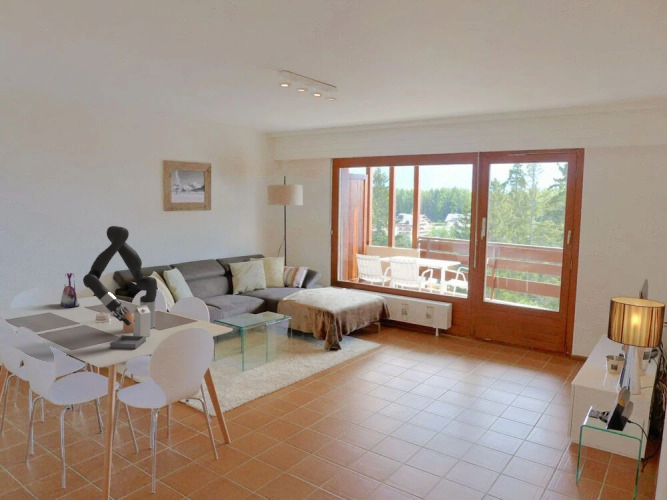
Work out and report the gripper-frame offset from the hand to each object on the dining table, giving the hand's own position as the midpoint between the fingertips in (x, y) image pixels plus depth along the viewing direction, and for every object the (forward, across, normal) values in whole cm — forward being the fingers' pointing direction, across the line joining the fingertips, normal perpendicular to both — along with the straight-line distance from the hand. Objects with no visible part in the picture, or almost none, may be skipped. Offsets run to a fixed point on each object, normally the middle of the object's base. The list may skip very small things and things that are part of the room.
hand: (131, 323), depth 280 cm
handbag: (-48, +90, +66) cm, 122 cm away
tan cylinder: (+2, 0, +5) cm, 6 cm away
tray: (+8, 0, +10) cm, 13 cm away
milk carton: (+9, +18, +10) cm, 22 cm away
